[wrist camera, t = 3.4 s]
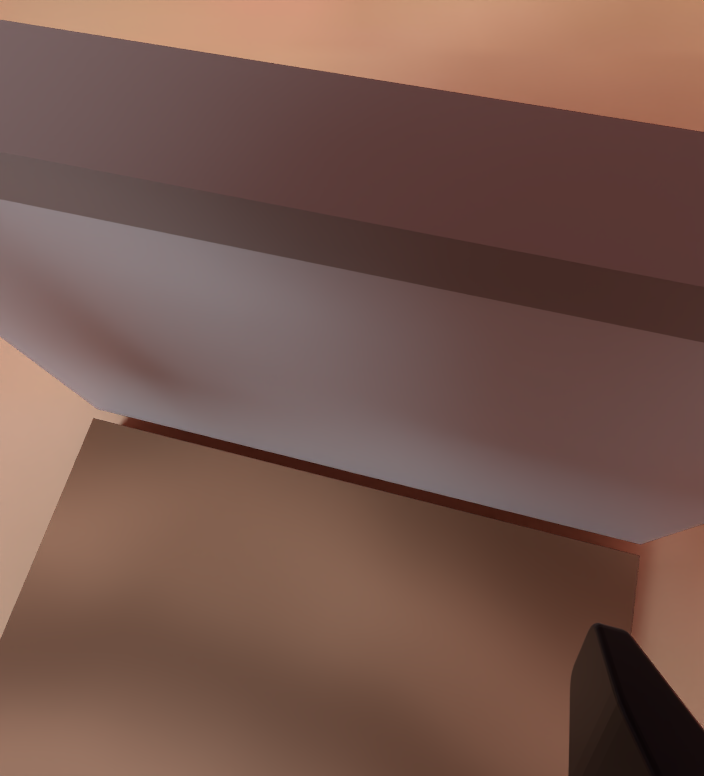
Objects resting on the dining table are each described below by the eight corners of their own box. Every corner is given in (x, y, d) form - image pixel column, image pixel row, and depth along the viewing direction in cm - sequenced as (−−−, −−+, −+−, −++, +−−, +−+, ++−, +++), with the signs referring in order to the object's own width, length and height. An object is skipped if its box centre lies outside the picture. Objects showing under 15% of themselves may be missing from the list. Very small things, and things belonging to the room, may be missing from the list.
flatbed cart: (549, 1159, 14) (589, 1292, 11) (-83, 914, 16) (-181, 974, 13) (620, 561, 18) (662, 549, 16) (113, 432, 21) (69, 401, 18)
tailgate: (639, 550, 17) (1192, 382, 5) (95, 413, 19) (-361, 82, 8) (646, 485, 18) (1159, 204, 6) (117, 360, 20) (-273, -24, 8)
